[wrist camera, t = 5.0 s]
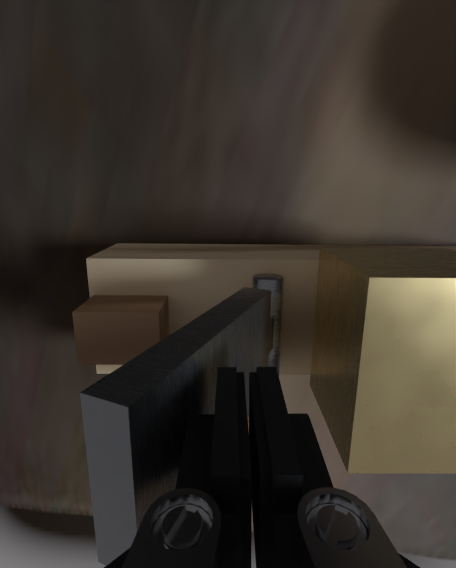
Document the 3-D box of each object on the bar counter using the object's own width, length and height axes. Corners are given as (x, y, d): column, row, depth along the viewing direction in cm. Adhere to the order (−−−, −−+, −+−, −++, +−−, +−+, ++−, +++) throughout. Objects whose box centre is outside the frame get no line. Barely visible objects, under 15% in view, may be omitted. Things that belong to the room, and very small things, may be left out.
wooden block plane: (117, 243, 22) (56, 272, 14) (478, 245, 22) (616, 276, 14) (123, 335, 23) (72, 408, 15) (461, 337, 23) (577, 409, 16)
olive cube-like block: (319, 247, 17) (369, 277, 11) (447, 248, 17) (563, 278, 11) (309, 384, 19) (347, 473, 13) (424, 385, 19) (514, 473, 13)
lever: (258, 272, 17) (75, 382, 7) (287, 275, 16) (131, 398, 7) (255, 364, 18) (95, 566, 8) (282, 369, 18) (144, 592, 8)
